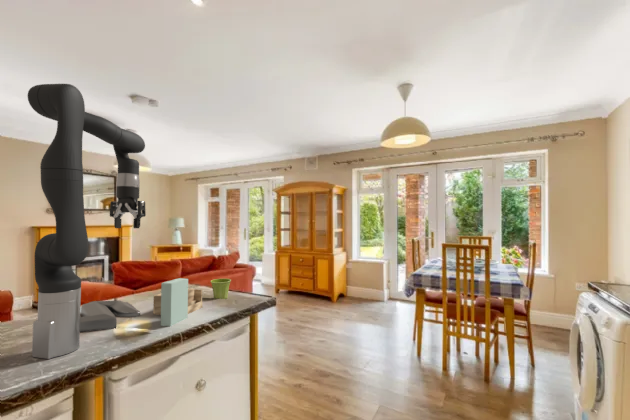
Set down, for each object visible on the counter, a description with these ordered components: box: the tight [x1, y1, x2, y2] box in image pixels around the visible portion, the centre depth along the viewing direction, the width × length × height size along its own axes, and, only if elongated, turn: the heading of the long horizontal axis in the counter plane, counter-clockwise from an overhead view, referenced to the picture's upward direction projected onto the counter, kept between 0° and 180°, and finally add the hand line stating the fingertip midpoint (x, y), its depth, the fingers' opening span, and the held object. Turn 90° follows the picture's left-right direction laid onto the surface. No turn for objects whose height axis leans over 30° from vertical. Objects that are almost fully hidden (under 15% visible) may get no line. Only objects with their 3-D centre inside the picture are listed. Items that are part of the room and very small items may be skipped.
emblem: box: [80, 300, 141, 333], centre depth 111 cm, size 28×5×28 cm
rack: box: [152, 288, 203, 316], centre depth 119 cm, size 13×13×8 cm
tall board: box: [160, 277, 189, 327], centre depth 106 cm, size 9×4×15 cm, turn 167°
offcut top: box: [188, 287, 195, 297], centre depth 120 cm, size 6×4×2 cm, turn 163°
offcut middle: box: [188, 295, 194, 303], centre depth 118 cm, size 8×4×2 cm, turn 170°
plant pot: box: [210, 278, 232, 300], centre depth 141 cm, size 9×9×9 cm
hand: (127, 228), depth 114 cm, fingers open, 8 cm apart
